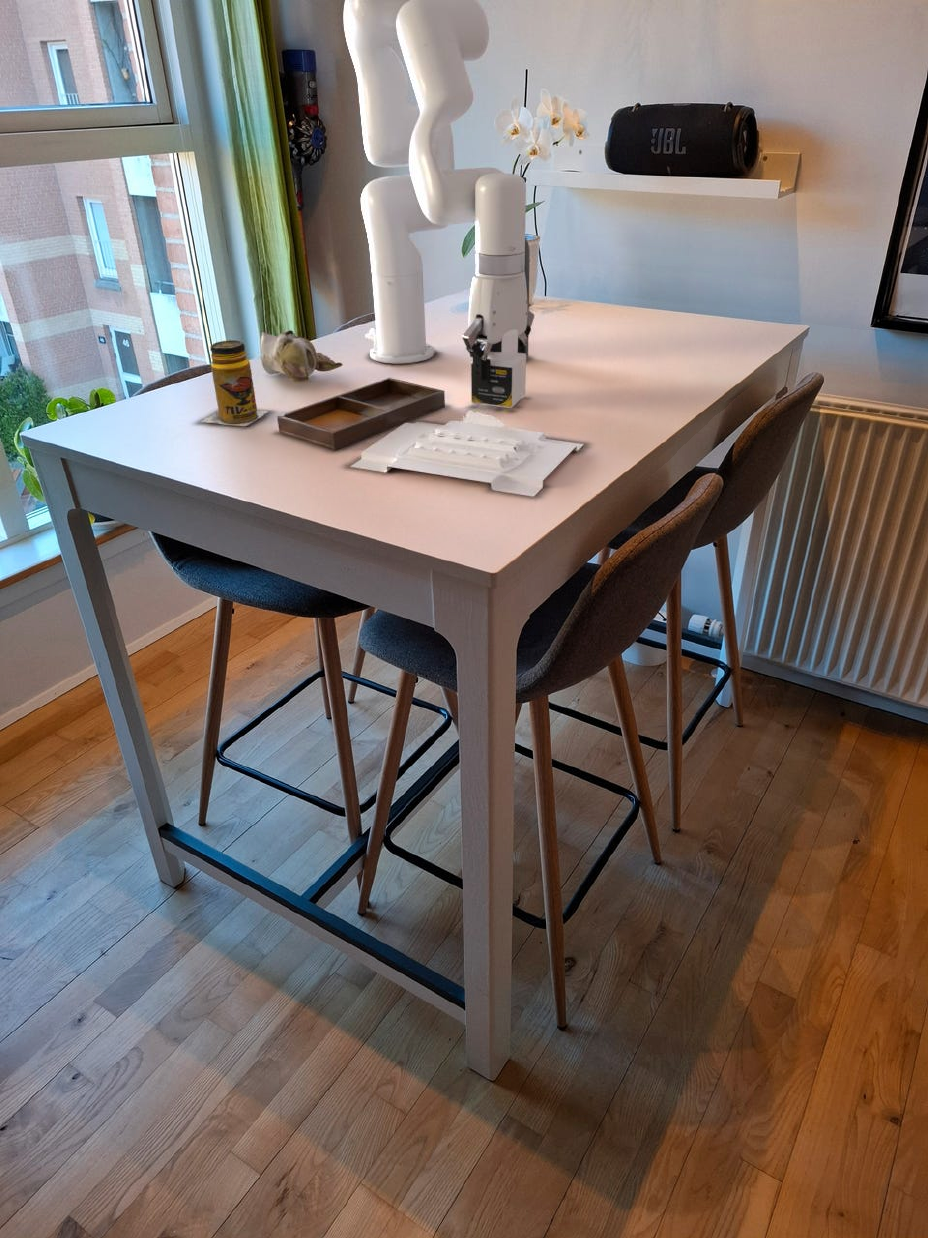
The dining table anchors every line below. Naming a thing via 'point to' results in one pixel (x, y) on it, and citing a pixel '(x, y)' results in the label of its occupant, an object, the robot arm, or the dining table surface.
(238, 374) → the condiment
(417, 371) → the dining table surface
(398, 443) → the tray
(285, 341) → the ceramic sculpture
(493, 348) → the medicine bottle
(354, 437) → the dark wooden divided tray
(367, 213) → the robot arm
